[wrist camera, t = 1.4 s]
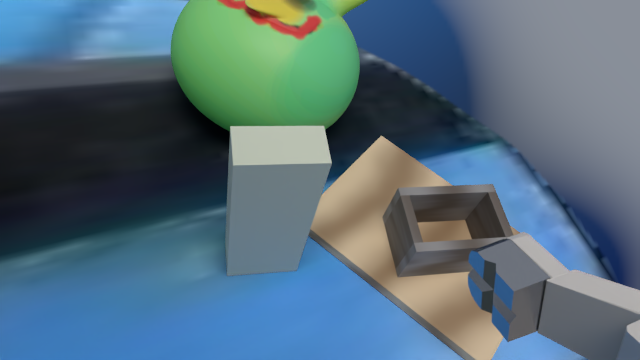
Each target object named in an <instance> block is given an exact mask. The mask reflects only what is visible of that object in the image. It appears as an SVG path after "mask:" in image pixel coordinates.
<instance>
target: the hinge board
mask: <svg viewBox="0 0 640 360" xmlns="http://www.w3.org/2000/svg"><path fill="white" fill-rule="evenodd" d="M519 233H520V232H518V231H517V230H515V229H514V228H513V227H511V226H510V225H509V222H508V220H507V218H506V215H505V213H504V210H503V208H502V205H501V203H500V200H499V198H498V195H497V193H496V190H495V188H494V186H493V184H488V185H460V186H453V185H451V184H450V183H448V182H447V181H445V180H444V179H443V178H441V177H440V176H438V175H437V174H435V173H434V172H433V171H431V170H430V169H428V168H427V167H425V166H424V165H423V164H421V163H420V162H418V161H417V160H415V159H414V158H413V157H411V156H410V155H408V154H407V153H405V152H404V151H403V150H401V149H400V148H398V147H397V146H395V145H394V144H393V143H391V142H390V141H388V140H387V139H385V138H384V137H383V136H381V137H380V138H379V139H378V140H377V141H376V142H375V143H374V144H373V145H372V146H371V147H370V148H368V149H367V150H366V151H365V152H364V153H363V154H362V155H361V156H360V157H359V158H358V159H357V160H356V161H355V162H354V163H353V164H352V165H351V166H350V167H349V168H348V169H347V170H346V171H345V172H344V173H343V174H342V175H341V176H340V177H339V178H338V179H337V180H336V181H335V182H334V183H333V184H332V185H331V186H330V187H329V188H328V189H327V190H326V191H325V192H324V193H323V194H322V195H321V198H320V201H319V204H318V207H317V210H316V213H315V216H314V219H313V222H312V225H311V228H310V231H309V234H308V236H310V237H311V238H312V239H313V240H315V241H316V242H317V243H319V244H320V245H321V246H322V247H324V248H325V249H326V250H327V251H329V252H330V253H331V254H332V255H334V256H335V257H336V258H337V259H339V260H340V261H341V262H342V263H344V264H345V265H346V266H348V267H349V268H350V269H351V270H353V271H354V272H355V273H356V274H358V275H359V276H360V277H361V278H363V279H364V280H365V281H366V282H368V283H369V284H370V285H371V286H373V287H374V288H375V289H376V290H378V291H379V292H380V293H382V294H383V295H384V296H385V297H387V298H388V299H389V300H390V301H392V302H393V303H394V304H395V305H397V306H398V307H399V308H400V309H402V310H403V311H404V312H405V313H407V314H408V315H409V316H411V317H412V318H413V319H414V320H416V321H417V322H418V323H419V324H421V325H422V326H423V327H424V328H426V329H427V330H428V331H429V332H431V333H432V334H433V335H434V336H436V337H437V338H438V339H440V340H441V341H442V342H443V343H445V344H446V345H447V346H448V347H450V348H451V349H452V350H453V351H455V352H456V353H457V354H458V355H460V356H461V357H462V358H463V359H465V360H491V359H492V357H493V355H494V353H495V351H496V350H497V348H498V346H499V344H500V342H501V340H502V339H503V336H502V334H501V333H500V332H499V331H498V329H497V328H496V327H495V326H494V325H493V323H492V314H491V313H489V312H486V311H484V310H482V309H480V307H479V306H478V305H477V303H476V302H475V300H474V299H473V297H472V295H471V292H470V289H469V286H468V274H469V273H470V271H471V270H472V268H473V267H472V266H471V265H470V263H469V254H470V252H471V251H472V250H475V249H477V248H480V247H483V246H486V245H488V244H491V243H494V242H496V241H499V240H502V239H506V238H508V237H511V236H514V235H516V234H519Z"/></svg>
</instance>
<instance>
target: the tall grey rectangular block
mask: <svg viewBox="0 0 640 360" xmlns="http://www.w3.org/2000/svg"><path fill="white" fill-rule="evenodd" d="M331 164H332V162H331V157H330V152H329V147H328V142H327V137H326V133H325V128H324V126H230V144H229V167H228V190H227V213H226V236H225V251H226V269H227V276H233V275H247V274H261V273H274V272H288V271H297V268H298V265H299V262H300V259H301V256H302V253H303V250H304V247H305V244H306V241H307V238H308V234H309V231H310V228H311V225H312V222H313V219H314V216H315V213H316V210H317V207H318V204H319V201H320V198H321V195H322V192H323V188H324V185H325V182H326V179H327V176H328V173H329V170H330V167H331Z"/></svg>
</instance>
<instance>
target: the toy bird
mask: <svg viewBox="0 0 640 360" xmlns="http://www.w3.org/2000/svg"><path fill="white" fill-rule="evenodd" d="M365 1H367V0H190V1H189V2H188V3H187V4H186V6H185V7H184V9H183V10H182V12H181V14H180V15H179V17H178V19H177V22H176V24H175V27H174V30H173V34H172V40H171V60H172V66H173V70H174V73H175V76H176V78H177V81H178V83H179V85H180V87H181V89H182V90H183V92H184V93H185V95H186V96H187V98H188V99H189V100H190V101H191V103H192V104H193V105H194V106H195V107H196V108H197V109H198V110H199V111H200V112H201V113H202V114H204V115H205V116H206V117H207V118H209V119H210V120H211V121H213V122H214V123H216V124H217V125H219V126H221V127H222V128H224V129H226V130H228V131H230V126H324V128H325V130H326V129H327V128H328V127H330V126H331V125H332V124H333V123H335V122H336V121H337V120H338V119H339V118H340V116H341V115H342V114H343V113H344V111H345V110H346V109H347V107H348V105H349V104H350V102H351V100H352V98H353V96H354V93H355V90H356V87H357V83H358V78H359V67H360V66H359V54H358V49H357V45H356V42H355V40H354V37H353V34H352V32H351V31H350V29H349V27H348V25H347V24H346V22H345V21H344V19H343V18H342V16H343V15H344V14H346V13H347V12H349V11H350V10H352V9H354V8H355V7H357V6H359V5H360V4H362V3H364V2H365Z"/></svg>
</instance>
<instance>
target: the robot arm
mask: <svg viewBox="0 0 640 360" xmlns="http://www.w3.org/2000/svg"><path fill="white" fill-rule="evenodd" d="M469 263H470V265H471V266H472V267H473V268H472V270H471V271H470V273H469V274H468V286H469V289H470V292H471V295H472V297H473V299H474V300H475V302H476V303H477V305H478V306H479V307H480V309H482V310H484V311H486V312H489V313H491V314H492V323H493V325H494V326H495V327H496V328H497V329H498V331H499V332H500V333H501V334H502V336H503V337H504V338H505V339H506V340H507V342H509V341H512V340H514V339H517V338H520V337H523V336H525V335H528V334H531V333H533V332H536V331H538V333H539V334H541V335H543V336H545V337H547V338H549V339H551V340H553V341H555V342H557V343H558V344H560V345H562V346H564V347H566V348H568V349H570V350H572V351H574V352H576V353H578V354H579V355H581V356H583V357H585V358H587V359H589V360H640V291H639V290H636V289H633V288H630V287H627V286H624V285H621V284H618V283H615V282H612V281H609V280H606V279H603V278H600V277H597V276H594V275H590V274H587V273H584V272H581V271H578V270H572V271H569V270H568V269H567V268H566V267H565V266H564V265H562V264H561V263H560V262H559V261H558V260H557V259H556V258H555V257H554V256H552V255H551V254H550V253H549V252H548V251H547V250H546V249H545V248H543V247H542V246H541V245H540V244H539V243H538V242H537V241H536V240H534V239H533V238H532V237H531V236H530V235H529V234H527V233H525V232H522V233H519V234H516V235H514V236H511V237H508V238H506V239H502V240H499V241H496V242H494V243H491V244H488V245H486V246H483V247H480V248H477V249H475V250H472V251H471V252H470V254H469Z"/></svg>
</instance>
